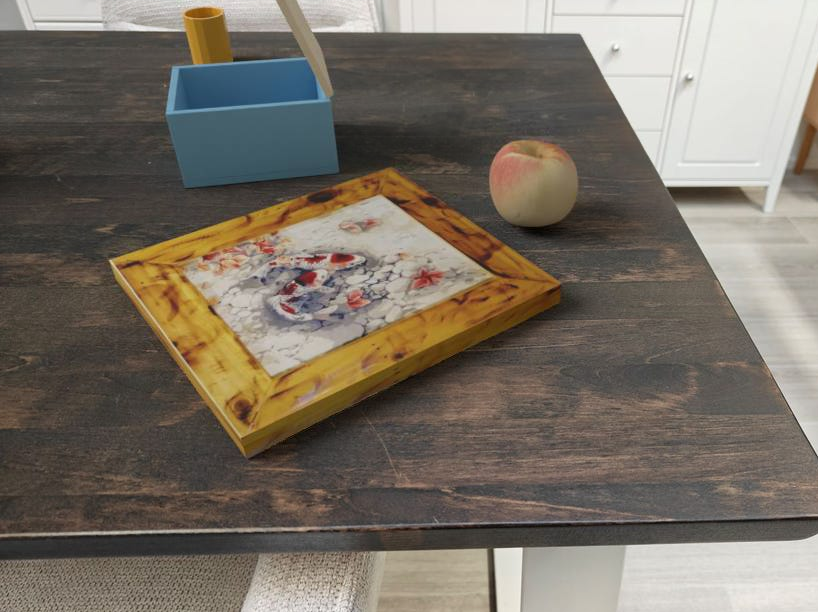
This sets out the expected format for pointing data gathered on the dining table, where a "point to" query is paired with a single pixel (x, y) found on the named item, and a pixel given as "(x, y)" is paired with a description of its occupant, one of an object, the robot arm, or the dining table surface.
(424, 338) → the picture frame
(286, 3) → the cooler lid
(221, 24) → the cup
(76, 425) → the dining table surface
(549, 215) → the apple
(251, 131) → the box
